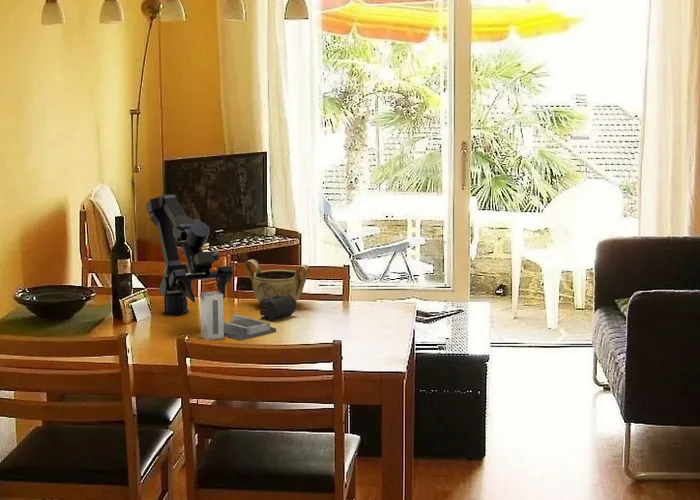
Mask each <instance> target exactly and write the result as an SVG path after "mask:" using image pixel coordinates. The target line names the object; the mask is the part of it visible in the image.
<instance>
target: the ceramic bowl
mask: <svg viewBox="0 0 700 500" xmlns="http://www.w3.org/2000/svg"><path fill="white" fill-rule="evenodd" d="M251 265H252V266H253V267H254V271H253V269H252V266H251ZM244 267H245V270H246V273H247V275H248V277H249V280H250V282H251V283H252V291H253V295H254V297H255V299H256V300H257V302H258V303H260V300H262V299H273V298H272V297H274V296H287V295H290V296H292V297H293V298H294V299H295V301H296V302H297V301H299V300H300V298H301V297H302V293H303V291H304V288H305V287H304V286H305V284H306V281H307V278H308V277H309V274H310V269H311V268H310V266H309V265H308V264H303V265H301V266H299V267H298V268H297V269H296V270H289V269H268V270H261V267H260V264H259V262H258V261H257V260H256V259H253V258H252V259H248V260H247V261H245V263H244ZM302 269H303V270H304V274H302Z"/></svg>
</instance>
